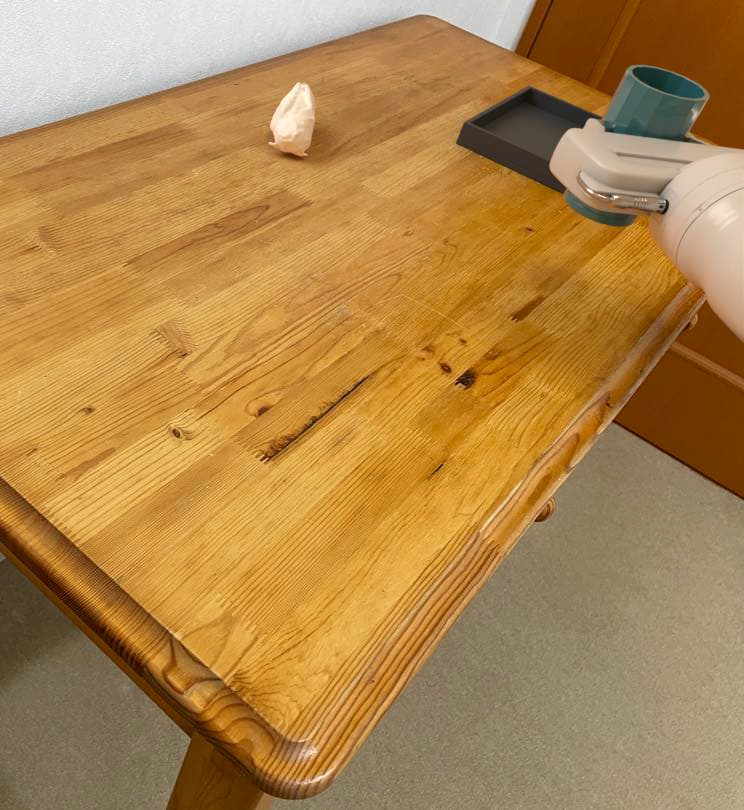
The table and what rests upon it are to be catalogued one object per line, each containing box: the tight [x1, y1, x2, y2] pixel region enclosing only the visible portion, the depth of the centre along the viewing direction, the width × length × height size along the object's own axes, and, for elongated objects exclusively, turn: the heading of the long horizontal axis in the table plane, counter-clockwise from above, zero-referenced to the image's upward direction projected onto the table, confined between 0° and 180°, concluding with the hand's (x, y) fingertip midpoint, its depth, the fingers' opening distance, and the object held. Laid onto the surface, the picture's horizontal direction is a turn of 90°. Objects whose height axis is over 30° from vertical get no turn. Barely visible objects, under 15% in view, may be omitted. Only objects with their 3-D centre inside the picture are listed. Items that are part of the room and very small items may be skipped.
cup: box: [562, 64, 711, 228], centre depth 75 cm, size 7×7×12 cm
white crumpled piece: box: [268, 81, 316, 157], centre depth 96 cm, size 5×7×10 cm
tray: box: [455, 85, 603, 195], centre depth 109 cm, size 21×15×3 cm
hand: (633, 132), depth 75 cm, fingers closed on cup, 7 cm apart
